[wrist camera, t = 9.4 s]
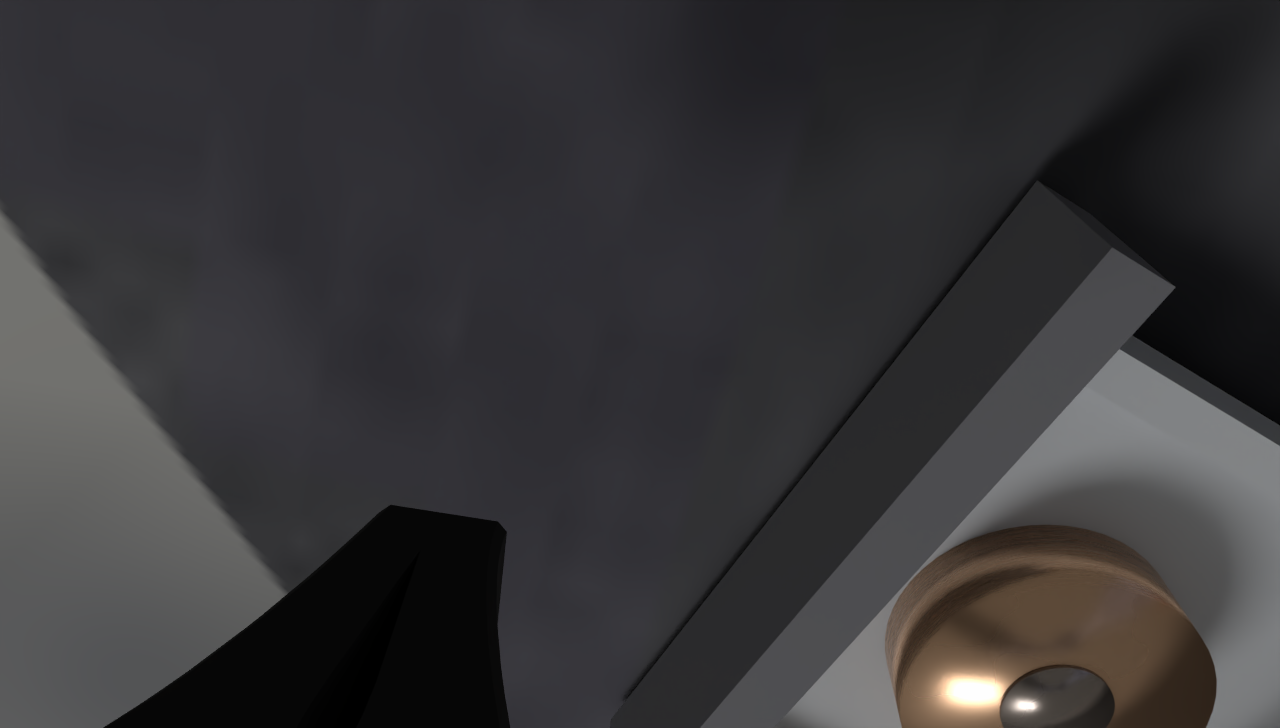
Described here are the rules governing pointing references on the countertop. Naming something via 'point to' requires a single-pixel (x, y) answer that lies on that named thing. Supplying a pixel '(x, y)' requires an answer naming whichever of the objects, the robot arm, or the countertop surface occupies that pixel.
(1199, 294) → the countertop surface
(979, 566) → the disc
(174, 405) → the countertop surface
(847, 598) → the tray
